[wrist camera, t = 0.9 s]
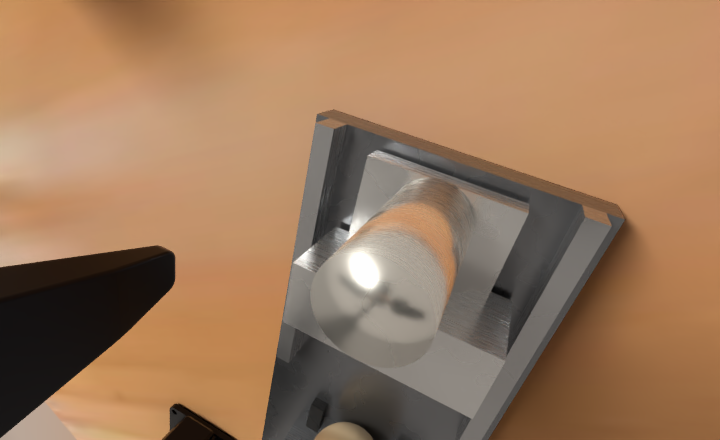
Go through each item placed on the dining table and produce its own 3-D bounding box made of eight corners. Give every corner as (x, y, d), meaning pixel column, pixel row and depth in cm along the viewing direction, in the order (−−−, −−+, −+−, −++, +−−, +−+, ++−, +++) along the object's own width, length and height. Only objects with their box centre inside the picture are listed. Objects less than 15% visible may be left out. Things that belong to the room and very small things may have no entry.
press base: (425, 524, 26) (400, 629, 21) (272, 432, 29) (221, 505, 24) (617, 204, 14) (654, 276, 10) (333, 109, 18) (258, 129, 13)
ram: (484, 353, 17) (453, 522, 11) (324, 278, 19) (222, 385, 13) (559, 211, 14) (574, 339, 8) (355, 139, 16) (237, 194, 10)
